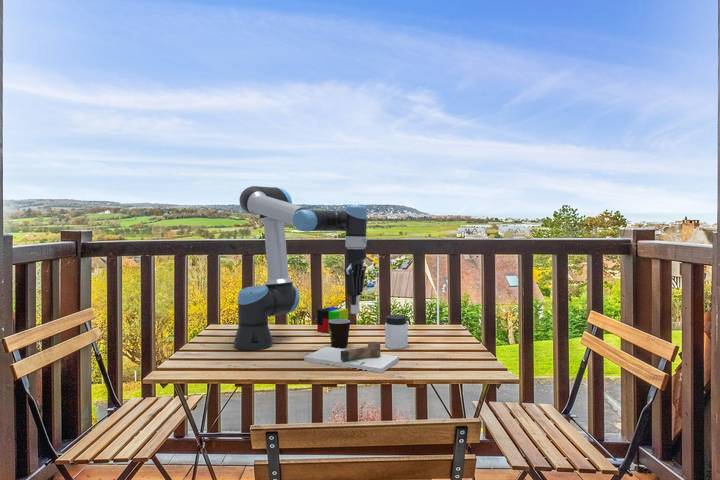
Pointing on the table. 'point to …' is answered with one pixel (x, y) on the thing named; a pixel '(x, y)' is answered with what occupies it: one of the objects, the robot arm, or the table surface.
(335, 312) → the puzzle toy
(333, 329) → the coffee mug
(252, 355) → the table surface
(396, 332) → the jar
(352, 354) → the peg pointer
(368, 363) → the board
